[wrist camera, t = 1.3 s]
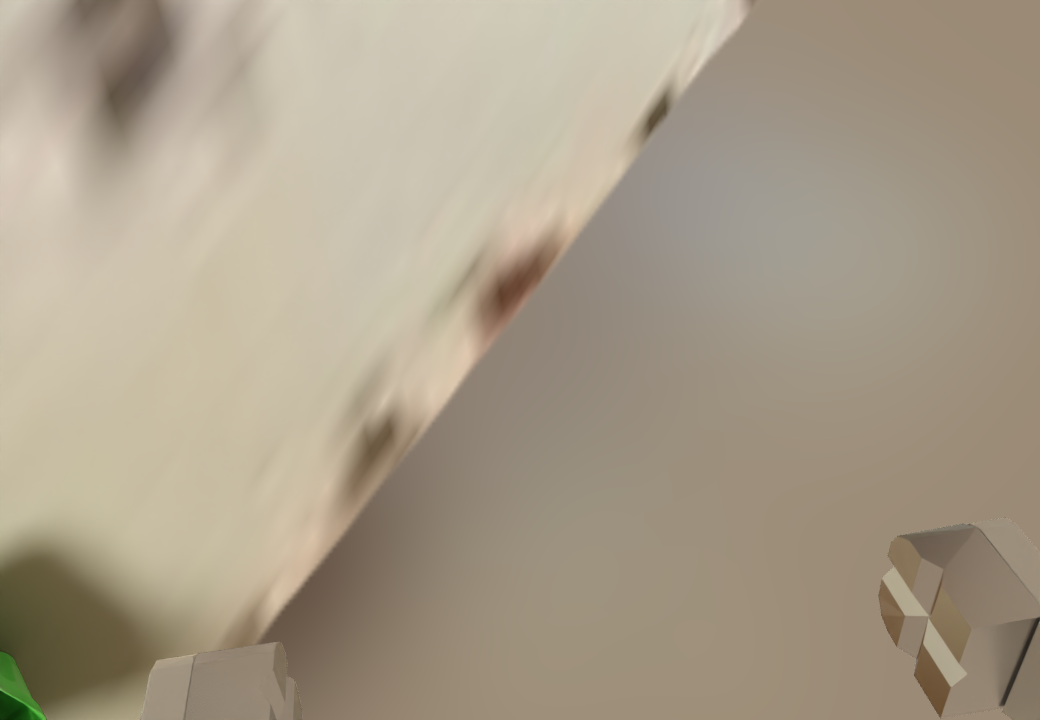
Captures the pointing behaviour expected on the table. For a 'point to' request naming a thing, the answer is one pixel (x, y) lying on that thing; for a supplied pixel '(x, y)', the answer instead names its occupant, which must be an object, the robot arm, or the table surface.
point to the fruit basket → (15, 693)
